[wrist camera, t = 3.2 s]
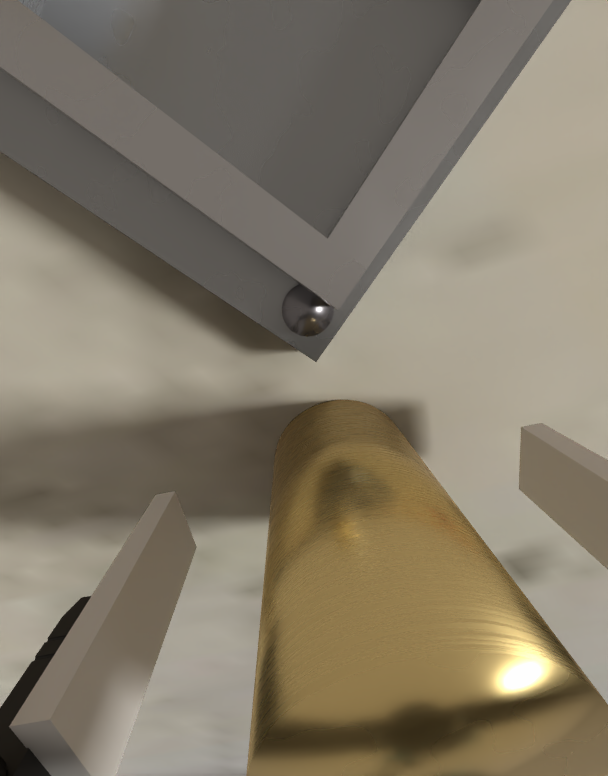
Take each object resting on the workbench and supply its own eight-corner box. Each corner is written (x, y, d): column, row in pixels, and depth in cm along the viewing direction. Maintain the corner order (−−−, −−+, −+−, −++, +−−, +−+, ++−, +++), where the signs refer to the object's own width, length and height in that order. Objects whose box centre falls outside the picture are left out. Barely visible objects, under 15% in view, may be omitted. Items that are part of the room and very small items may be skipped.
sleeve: (352, 534, 16) (445, 899, 6) (249, 477, 15) (176, 825, 5) (431, 444, 15) (694, 738, 5) (324, 373, 13) (411, 589, 4)
